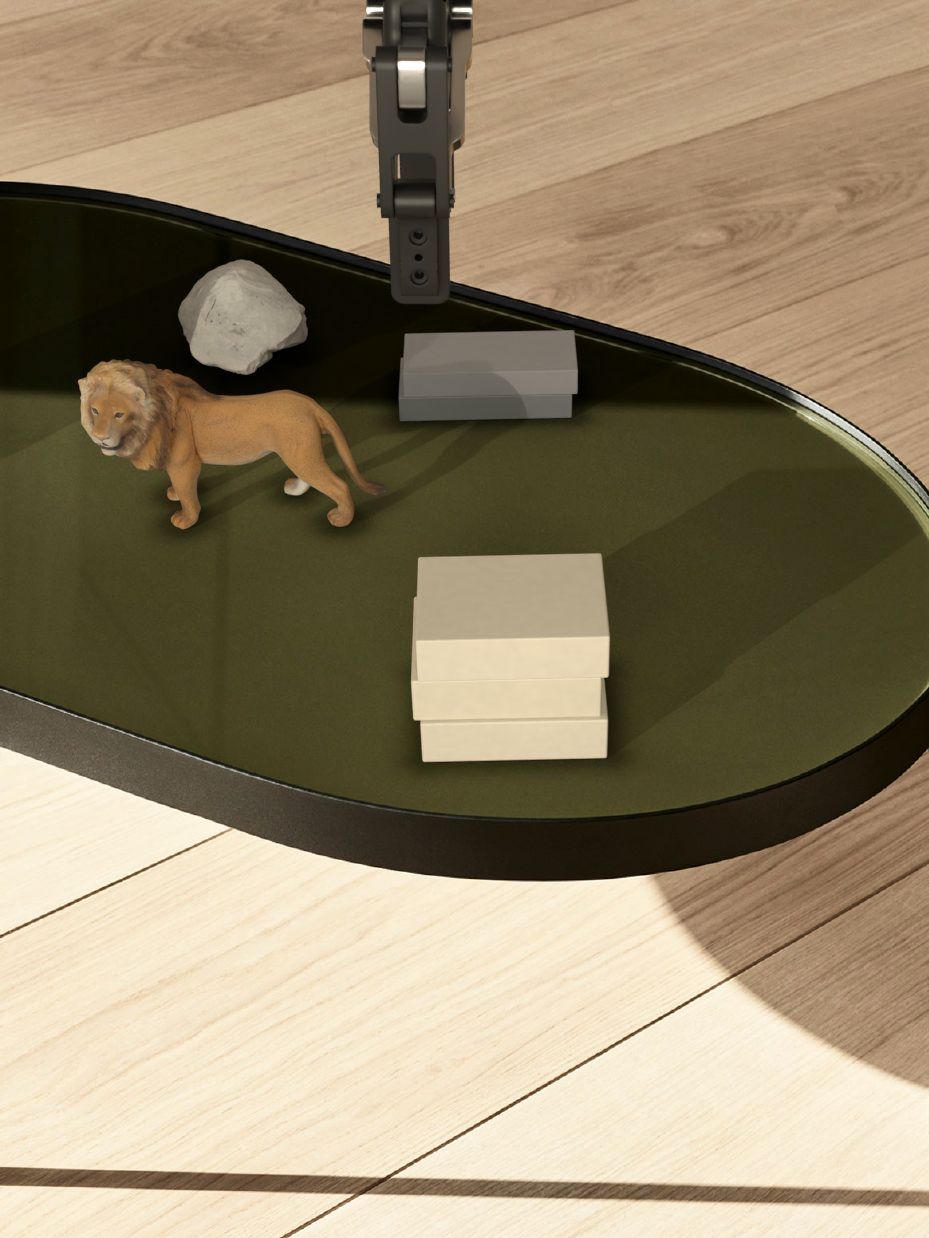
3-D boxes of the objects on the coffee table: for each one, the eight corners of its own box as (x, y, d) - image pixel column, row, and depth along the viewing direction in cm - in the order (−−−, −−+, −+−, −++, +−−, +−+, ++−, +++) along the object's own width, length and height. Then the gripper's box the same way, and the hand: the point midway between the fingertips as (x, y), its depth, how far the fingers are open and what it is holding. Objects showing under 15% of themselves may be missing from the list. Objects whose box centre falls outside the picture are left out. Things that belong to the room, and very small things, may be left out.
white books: (415, 763, 80) (410, 684, 77) (418, 672, 84) (414, 595, 82) (607, 758, 80) (609, 680, 77) (599, 668, 84) (600, 591, 82)
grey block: (399, 421, 101) (397, 373, 100) (401, 380, 105) (399, 333, 103) (577, 418, 101) (577, 370, 100) (573, 376, 105) (574, 329, 103)
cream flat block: (417, 682, 77) (415, 641, 75) (420, 596, 82) (418, 556, 80) (608, 678, 77) (610, 636, 76) (600, 592, 82) (601, 552, 80)
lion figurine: (98, 551, 92) (69, 395, 86) (102, 493, 96) (74, 340, 91) (390, 526, 94) (380, 370, 88) (382, 469, 98) (372, 317, 92)
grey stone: (343, 335, 109) (337, 257, 106) (273, 399, 103) (264, 319, 100) (220, 307, 112) (210, 230, 109) (145, 367, 106) (133, 289, 103)
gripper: (319, -243, 68) (341, 172, 78) (284, -129, 57) (315, 336, 67) (522, -242, 68) (517, 173, 78) (526, -128, 57) (520, 337, 67)
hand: (424, 248), depth 73 cm, fingers open, 8 cm apart
